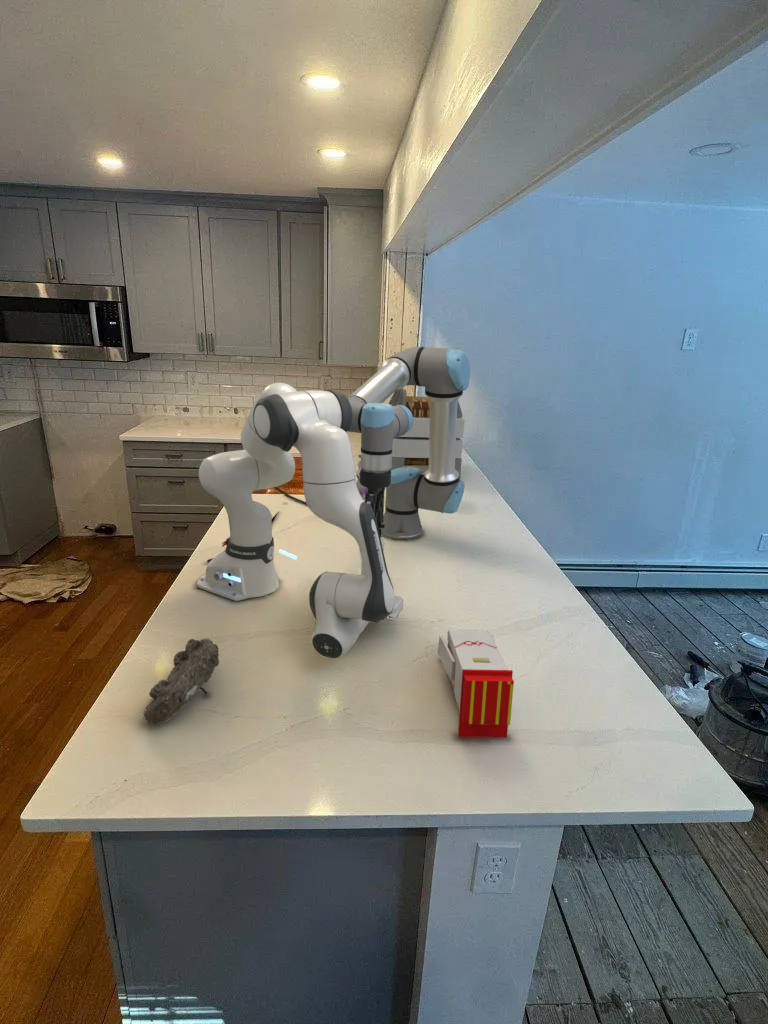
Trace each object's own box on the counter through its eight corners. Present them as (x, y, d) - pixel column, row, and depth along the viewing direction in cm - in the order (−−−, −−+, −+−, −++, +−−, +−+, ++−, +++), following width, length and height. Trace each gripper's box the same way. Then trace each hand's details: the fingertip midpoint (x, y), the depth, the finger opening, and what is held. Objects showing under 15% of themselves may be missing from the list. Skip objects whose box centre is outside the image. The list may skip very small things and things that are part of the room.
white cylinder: (388, 550, 143) (389, 541, 142) (369, 555, 139) (370, 546, 138) (375, 543, 147) (375, 534, 146) (356, 547, 144) (356, 538, 143)
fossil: (172, 641, 124) (220, 609, 119) (203, 670, 127) (251, 640, 122) (121, 717, 104) (176, 683, 99) (159, 749, 107) (214, 718, 102)
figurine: (359, 500, 232) (360, 465, 227) (349, 493, 240) (350, 458, 235) (380, 498, 236) (381, 463, 231) (369, 490, 244) (370, 457, 239)
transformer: (382, 463, 289) (386, 382, 275) (445, 464, 293) (451, 384, 279) (390, 482, 257) (394, 392, 243) (460, 483, 261) (468, 394, 247)
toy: (488, 613, 130) (523, 677, 101) (484, 667, 133) (517, 744, 104) (435, 612, 130) (455, 676, 101) (432, 666, 133) (451, 743, 103)
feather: (286, 506, 225) (288, 502, 225) (268, 529, 199) (271, 525, 198) (282, 503, 225) (284, 499, 225) (264, 526, 199) (267, 522, 198)
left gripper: (395, 609, 131) (411, 583, 144) (314, 593, 137) (336, 570, 149) (393, 632, 133) (409, 605, 146) (314, 615, 139) (336, 591, 152)
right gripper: (369, 458, 145) (366, 541, 153) (350, 478, 128) (348, 570, 136) (398, 460, 144) (393, 544, 152) (383, 481, 127) (379, 574, 135)
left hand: (372, 587), depth 148 cm, fingers closed on jar, 5 cm apart
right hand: (372, 556), depth 144 cm, fingers closed on white cylinder, 6 cm apart
